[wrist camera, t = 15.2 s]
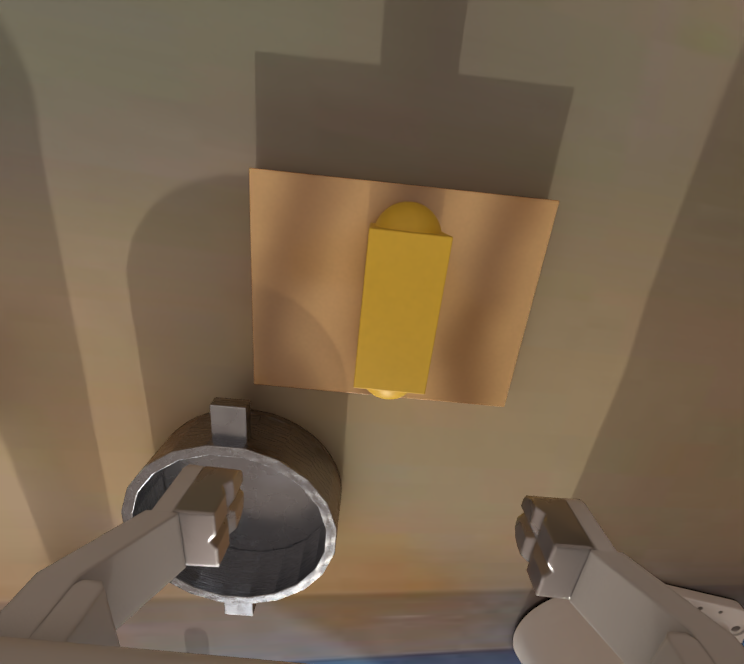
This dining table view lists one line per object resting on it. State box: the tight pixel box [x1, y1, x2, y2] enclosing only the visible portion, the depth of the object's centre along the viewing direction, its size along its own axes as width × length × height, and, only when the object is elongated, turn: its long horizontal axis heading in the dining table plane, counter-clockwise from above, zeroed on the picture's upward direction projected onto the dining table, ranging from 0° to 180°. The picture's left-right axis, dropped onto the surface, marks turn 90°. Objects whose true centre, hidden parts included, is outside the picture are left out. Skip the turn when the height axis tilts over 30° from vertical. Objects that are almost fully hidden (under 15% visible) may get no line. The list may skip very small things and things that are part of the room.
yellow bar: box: [353, 201, 453, 399], centre depth 21 cm, size 12×4×4 cm, turn 174°
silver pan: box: [121, 397, 341, 616], centre depth 28 cm, size 16×21×4 cm
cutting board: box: [249, 168, 559, 407], centre depth 23 cm, size 18×14×2 cm
